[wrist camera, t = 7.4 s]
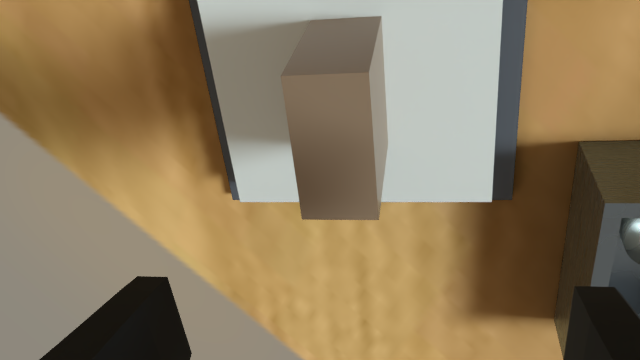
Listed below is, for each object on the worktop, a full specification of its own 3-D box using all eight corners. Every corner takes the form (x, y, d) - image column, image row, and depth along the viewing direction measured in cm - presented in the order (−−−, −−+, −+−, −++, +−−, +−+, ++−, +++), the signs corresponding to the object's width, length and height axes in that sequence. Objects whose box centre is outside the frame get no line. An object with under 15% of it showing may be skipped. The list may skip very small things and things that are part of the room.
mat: (511, 193, 21) (511, 199, 20) (235, 193, 23) (233, 199, 22) (534, -128, 16) (536, -126, 15) (174, -92, 17) (168, -90, 17)
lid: (488, 180, 20) (504, 287, 16) (249, 181, 22) (203, 280, 17) (501, -89, 16) (529, -44, 11) (200, -63, 17) (122, -14, 13)
